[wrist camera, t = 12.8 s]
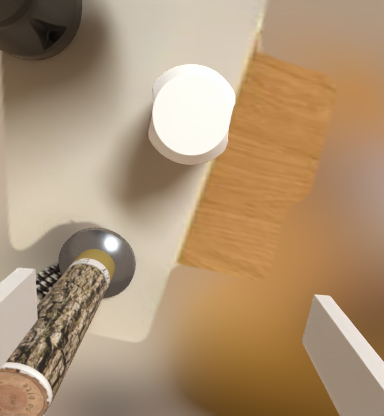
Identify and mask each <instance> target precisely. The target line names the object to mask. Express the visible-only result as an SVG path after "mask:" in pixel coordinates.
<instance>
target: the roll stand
mask: <svg viewBox="0 0 384 416" xmlns="http://www.w3.org/2000/svg"><path fill="white" fill-rule="evenodd" d="M89 249H99V250H102V251H104V252H106V253H107V254H108V255H110V257H111V258H112V259H113V261H114V264H115V272H114V275H113V277H112V279H111V281H110V283H109V286H108V288H107V290H106V292H105V294H104V296H103V298H107V297H111V296H114V295H117V294H119V293H120V292H122V291H123V290H124V289H125V288H126V287H127V286H128V285H129V283H130V282H131V280H132V278H133V275H134V272H135V266H136V261H135V256H134V253H133V251H132V248H131V247H130V245H129V244H128V243H127V241H126V240H125V239H123V238H122V237H121V236H120V235H118V234H116V233H115V232H113V231H110V230H107V229H103V228H89V229H84V230H81V231H79V232H77V233H76V234H74V235H73V236H71V237H70V238H69V239H68V240H67V242H65V244H64V245H63V247H62V249H61V251H60V254H59V269H60V272H61V275H63V274H64V273H65V271H66V270H67V269H68V268H69V266H70V265H71V264H72V263H73V262H74V261H75V259H76V258H77V257H78V256H79V255H80V254H81V253H82V252H84V251H86V250H89Z"/></svg>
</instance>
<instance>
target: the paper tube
mask: <svg viewBox="0 0 384 416" xmlns="http://www.w3.org/2000/svg"><path fill="white" fill-rule="evenodd" d="M114 272H115V264H114V261H113V259H112V258H111V257H110V255H108V254H107V253H106V252H104V251H102V250H99V249H89V250H86V251H84V252H82V253H81V254H80V255H79V256H78V257H77V258H76V259H75V261H74V262H73V263H72V264H71V265H70V266H69V268H68V269H67V270H66V271H65V273H64V274H63V275H62V276H61V277H60V279H59V280H58V281H57V282H56V283H55V285H54V286H53V287H52V288H51V290H50V291H49V292H48V293H47V294H46V296H45V297H44V298H43V299H42V300H41V302H40V303H39V304H38V305H37V315H38V320H37V321H36V323H35V324H34V325H33V327H32V328H31V329H30V331H29V332H28V333H27V335H26V336H25V337H24V339H23V340H22V341H21V342H20V344H19V345H18V346H17V348H16V349H15V350H14V352H13V353H12V354H11V356H10V357H9V358H8V360H7V361H6V362H5V363H4V365H3V366H2V367H1V369H0V416H44V415H45V413H46V412H47V410H48V408H49V407H50V405H51V403H52V401H53V399H54V397H55V395H56V393H57V391H58V388H59V386H60V384H61V382H62V380H63V378H64V376H65V374H66V372H67V370H68V368H69V366H70V364H71V362H72V360H73V358H74V356H75V353H76V351H77V349H78V347H79V345H80V343H81V341H82V339H83V337H84V335H85V333H86V331H87V329H88V327H89V325H90V323H91V321H92V319H93V317H94V315H95V313H96V310H97V308H98V306H99V304H100V302H101V300H102V298H103V296H104V294H105V292H106V290H107V288H108V286H109V283H110V281H111V279H112V277H113V275H114Z"/></svg>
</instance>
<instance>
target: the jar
mask: <svg viewBox="0 0 384 416" xmlns="http://www.w3.org/2000/svg"><path fill="white" fill-rule="evenodd" d="M234 105H235V94H234V91H233V90H232V88H231V86H230V85H229V83H228V82H227V81H226V80H225V79H224V78H223V77H222V76H221V75H220V74H219V73H217V72H216V71H214V70H212V69H210V68H208V67H205V66H201V65H195V64H186V65H180V66H177V67H174V68H172V69H170V70H168V71H166V72H165V73H163V74H162V75H161V76H160V77H159V78H158V79H157V80H156V81H155V82H154V86H153V108H152V109H153V110H152V117H151V122H150V126H149V129H148V137H149V140H150V141H151V143H152V144H153V146H154V147H155V148H156V149H157V150H158V151H159V152H160V153H161V154H162V155H163V156H165V157H166V158H168V159H170V160H172V161H174V162H177V163H180V164H186V165H196V164H202V163H205V162H208V161H210V160H212V159H214V158H216V157H217V156H219V155H220V154H221V153H222V152H224V151H225V149H226V146H227V143H228V129H229V124H230V118H231V114H232V110H233V107H234Z"/></svg>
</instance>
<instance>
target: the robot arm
mask: <svg viewBox="0 0 384 416" xmlns="http://www.w3.org/2000/svg"><path fill="white" fill-rule="evenodd" d="M81 12H82V0H0V50H2V51H4V52H6V53H9V54H11V55H14V56H17V57H20V58H24V59H30V60H40V59H45V58H49V57H52V56H54V55H56V54H58V53H59V52H61V51H62V50H63V49H64V48H66V47H67V46H68V44H69V43H70V42H71V41H72V39H73V38H74V36H75V34H76V32H77V29H78V27H79V23H80V19H81ZM37 320H38V315H37V295H36V274H35V269H28V268H17V269H16V270H15V271H14V272H13V273H11V274H10V275H9V276H8V277H7V278H6V279H4V280H3V281H2V282H1V283H0V369H1V367H2V366H3V365H4V363H5V362H6V361H7V360H8V358H9V357H10V356H11V354H12V353H13V352H14V350H15V349H16V348H17V346H18V345H19V344H20V342H21V341H22V340H23V339H24V337H25V336H26V335H27V333H28V332H29V331H30V329H31V328H32V327H33V325H34V324H35V323H36V321H37ZM302 343H303V345H304V347H305V349H306V351H307V353H308V355H309V357H310V359H311V361H312V363H313V365H314V367H315V368H316V370H317V372H318V374H319V376H320V378H321V380H322V382H323V384H324V386H325V388H326V390H327V392H328V394H329V396H330V398H331V399H332V401H333V403H334V405H335V407H336V409H337V411H338V413H339V415H340V416H384V362H383V361H382V359H381V358H380V357H379V356H378V355H377V354H376V352H375V351H374V350H373V348H372V347H371V346H370V345H369V344H368V342H367V341H366V340H365V339H364V337H363V336H362V335H361V334H360V332H359V331H358V330H357V329H356V328H355V326H354V325H353V324H352V323H351V321H350V320H349V319H348V318H347V316H346V315H345V314H344V313H343V312H342V310H341V309H340V308H339V307H338V305H337V304H336V303H335V302H334V300H333V299H332V298H331V297H330V296H326V295H314V297H313V301H312V305H311V309H310V313H309V316H308V320H307V324H306V328H305V332H304V336H303V340H302Z"/></svg>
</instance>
